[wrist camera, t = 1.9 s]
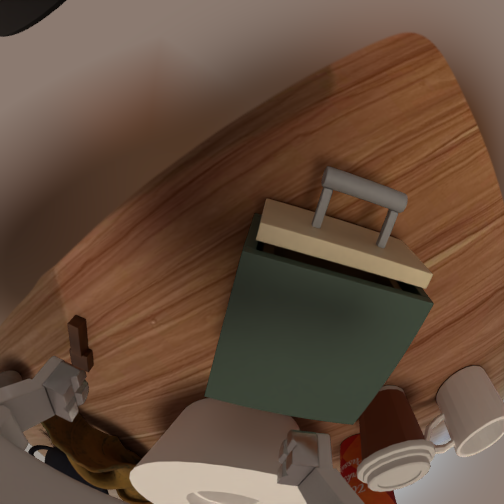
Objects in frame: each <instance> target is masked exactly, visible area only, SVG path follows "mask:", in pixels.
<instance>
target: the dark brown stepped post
mask: <svg viewBox="0 0 504 504" xmlns="http://www.w3.org/2000/svg"><path fill="white" fill-rule="evenodd" d="M68 332H69V339H70V346H71V348H70V356H71V362H72V365H74V366H76V367H78V368H80V369H83V370H85V371H87V372H89V371H90V370H91V368H92V367H93V356H92V350H90V349H88V342H87V330H86V319H84V318H81V317H79V316H77V315H75V316H74V317H73V318H72V319H71V320H70V322H69V323H68Z"/></svg>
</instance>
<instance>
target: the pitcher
mask: <svg viewBox="0 0 504 504" xmlns="http://www.w3.org/2000/svg"><path fill="white" fill-rule="evenodd" d="M41 424H42V425H43V427H44V428H45V429H46V431H47V433H48V434H49V436H50V439H51V441H52V443H53V444H54V445H55V446H56V447H58V448H59V449H60V450H61V451H63V452H64V453H65V454H66V455H67V457H68V459H69V461H70V463H71V464H72V466H73V467H74V469H75V470H76V471H77V472H78V474H79V475H80V476H81V477H82V478H83V479H85V480H86V481H87V482H89V483H90V484H92V485H94V486H96V487H99V488H103V489H116V491H117V493H118V495H119V497H120V498H121V499H122V500H123V501H125V502H128V503H130V504H153V503H152V502H150V501H149V500H147V499H146V498H145V497H143V496H142V495H141V494H140V493H139V492H138V491H137V490H136V489H135V488H134V487H133V485H132V483H131V481H130V479H129V477H130V472H131V471H132V470H133V468H134V467H135V466H136V465H137V464H138V463H139V462H140V461H141V458H140V457H139V456H138V455H136V454H135V453H134V452H132V451H129V450H127V449H126V448H125V447H124V446H123V445H122V444H121V442H120V440H119V438H118V437H117V436H115V435H113V436H110V435H108V434H105V433H103V432H101V431H99V430H97V429H95V428H93V427H91V426H90V425H89V424H88V423H87V422H86V421H85V420H84V418H83V417H82V416H81V414H79V413H77V415H76V416H75V418H74V419H73V421H72V422H70V421H68V420H66V419H64V418H62V417H60V416H58V415H56V414H55V415H54V416H52V417H50V418H49V419H47V420H45V421H43V422H41Z"/></svg>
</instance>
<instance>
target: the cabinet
mask: <svg viewBox="0 0 504 504" xmlns="http://www.w3.org/2000/svg"><path fill="white" fill-rule="evenodd" d="M261 216H262V215H261V214H257V213H255V214H254V217H253V220H252V223H251V226H250V229H249V232H248V235H247V238H246V241H245V244H244V247H243V250H242V254H241V258H240V261H239V265H238V269H237V273H236V276H235V280H234V284H233V288H232V292H231V295H230V299H229V303H228V307H227V310H226V314H225V318H224V322H223V326H222V330H221V333H220V337H219V341H218V345H217V349H216V353H215V357H214V360H213V364H212V368H211V372H210V376H209V380H208V384H207V388H206V391H205V395H204V396H205V397H209V398H212V399H216V400H220V401H224V402H227V403H232V404H236V405H240V406H244V407H248V408H253V409H257V410H262V411H267V412H272V413H277V414H282V415H288V416H294V417H299V418H306V419H312V420H319V421H326V422H334V423H342V424H352V425H353V424H354V423H355V422H356V420H357V419H358V418H359V417H360V415H361V414H362V413H363V412H364V410H365V409H366V408H367V406H368V405H369V404H370V402H371V401H372V400H373V398H374V397H375V396H376V394H377V393H378V392H379V390H380V389H381V388H382V386H383V385H384V383H385V382H386V380H387V379H388V378H389V376H390V375H391V373H392V372H393V370H394V369H395V367H396V366H397V364H398V363H399V361H400V360H401V358H402V357H403V355H404V354H405V352H406V350H407V349H408V347H409V346H410V344H411V342H412V341H413V339H414V337H415V336H416V334H417V332H418V331H419V329H420V327H421V326H422V324H423V322H424V320H425V319H426V317H427V315H428V313H429V311H430V310H431V308H432V306H433V304H434V303H433V302H432V301H431V299H430V298H429V297H428V295H427V294H426V293H425V291H424V290H423V289H422V288H421V287H418V286H414V285H411V284H408V283H404V282H401V281H397V280H396V281H397V283H398V284H399V286H400V287H401V289H402V290H399V289H396V288H392V287H388V286H385V285H381V284H378V283H374V282H371V281H367V280H363V279H360V278H356V277H353V276H349V275H346V274H342V273H338V272H335V271H331V270H328V269H324V268H321V267H317V266H313V265H310V264H306V263H303V262H299V261H295V260H292V259H288V258H285V257H281V256H277V255H274V254H270V253H267V252H263V251H260V250H261V247H262V243H263V242H261V241H257V240H256V237H257V233H258V229H259V225H260V220H261Z"/></svg>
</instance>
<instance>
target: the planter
mask: <svg viewBox="0 0 504 504" xmlns="http://www.w3.org/2000/svg"><path fill="white" fill-rule="evenodd" d="M20 381H22V378H21V375H20V374H19V373H18V372H16V371H5V372H2V373H0V388H2V387H5V386H8V385H11V384H14V383H17V382H20Z"/></svg>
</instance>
